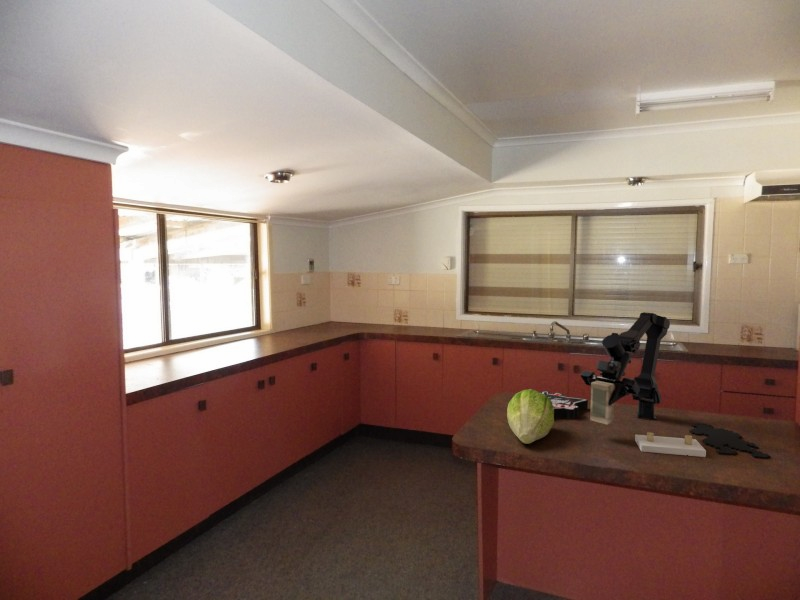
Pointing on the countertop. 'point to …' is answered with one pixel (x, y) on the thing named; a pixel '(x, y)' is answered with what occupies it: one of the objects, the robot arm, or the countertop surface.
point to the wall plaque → (566, 405)
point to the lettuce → (530, 415)
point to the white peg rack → (670, 445)
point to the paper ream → (601, 402)
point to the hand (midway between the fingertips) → (600, 402)
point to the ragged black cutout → (726, 441)
